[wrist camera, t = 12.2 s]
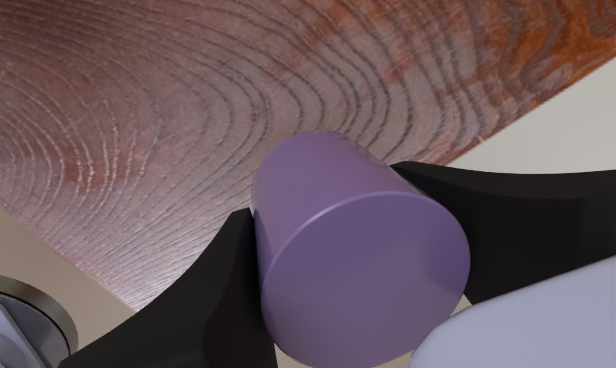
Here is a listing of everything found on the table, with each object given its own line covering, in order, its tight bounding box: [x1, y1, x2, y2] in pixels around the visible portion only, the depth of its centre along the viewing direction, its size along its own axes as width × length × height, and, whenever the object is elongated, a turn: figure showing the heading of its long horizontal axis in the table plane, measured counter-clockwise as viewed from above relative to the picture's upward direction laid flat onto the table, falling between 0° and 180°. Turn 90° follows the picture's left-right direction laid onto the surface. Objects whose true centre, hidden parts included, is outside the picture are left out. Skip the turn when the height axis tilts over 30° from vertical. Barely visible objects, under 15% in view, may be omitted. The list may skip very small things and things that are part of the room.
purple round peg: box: [251, 130, 470, 368], centre depth 10 cm, size 5×5×6 cm
